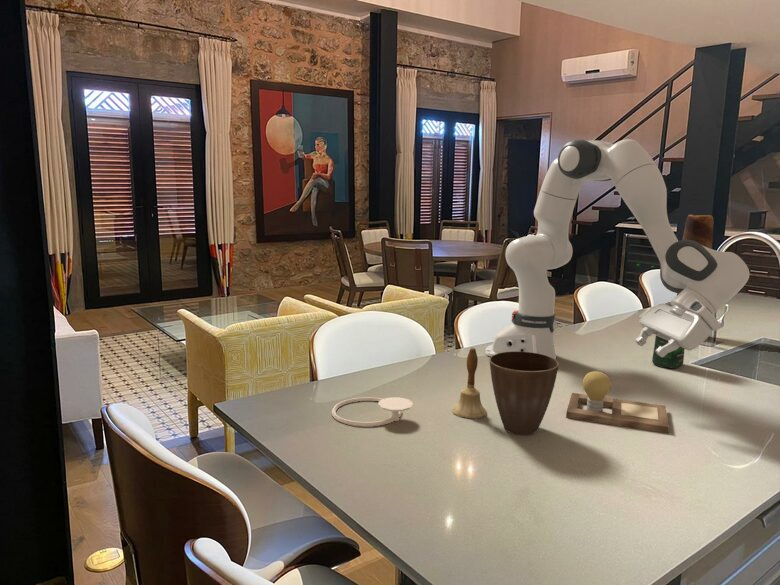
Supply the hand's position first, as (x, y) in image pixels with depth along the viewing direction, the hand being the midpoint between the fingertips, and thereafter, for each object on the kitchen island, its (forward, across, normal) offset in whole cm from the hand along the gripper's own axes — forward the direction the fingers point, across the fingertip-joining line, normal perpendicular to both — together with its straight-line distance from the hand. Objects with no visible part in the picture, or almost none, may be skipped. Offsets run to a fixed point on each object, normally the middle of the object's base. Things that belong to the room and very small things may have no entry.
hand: (647, 349), depth 139 cm
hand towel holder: (+58, -1, -36) cm, 68 cm away
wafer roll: (-28, -70, +50) cm, 91 cm away
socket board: (+16, +2, +6) cm, 18 cm away
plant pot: (+35, +9, -13) cm, 38 cm away
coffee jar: (-8, -36, +31) cm, 48 cm away
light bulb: (+20, 0, +3) cm, 20 cm away
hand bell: (+42, -1, -19) cm, 46 cm away
